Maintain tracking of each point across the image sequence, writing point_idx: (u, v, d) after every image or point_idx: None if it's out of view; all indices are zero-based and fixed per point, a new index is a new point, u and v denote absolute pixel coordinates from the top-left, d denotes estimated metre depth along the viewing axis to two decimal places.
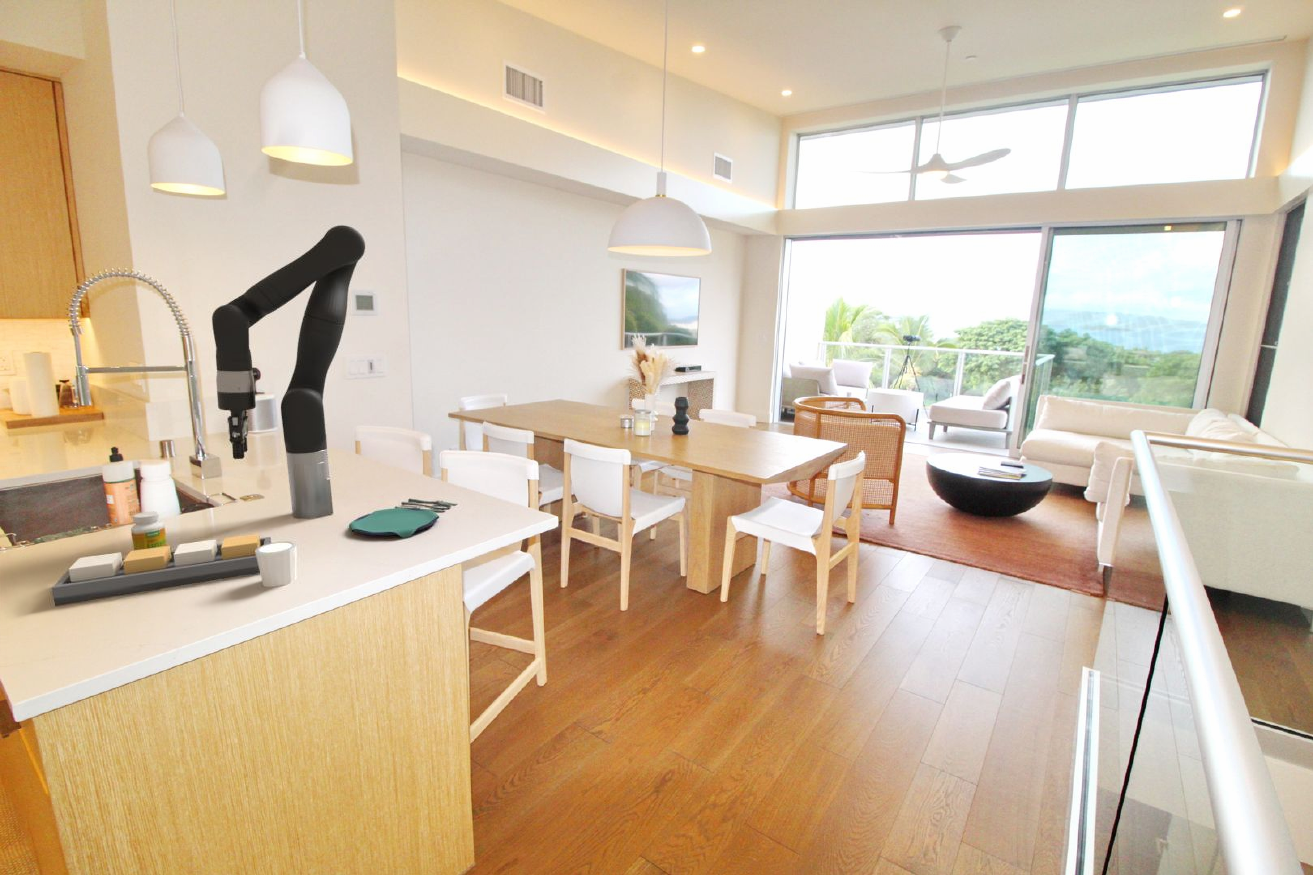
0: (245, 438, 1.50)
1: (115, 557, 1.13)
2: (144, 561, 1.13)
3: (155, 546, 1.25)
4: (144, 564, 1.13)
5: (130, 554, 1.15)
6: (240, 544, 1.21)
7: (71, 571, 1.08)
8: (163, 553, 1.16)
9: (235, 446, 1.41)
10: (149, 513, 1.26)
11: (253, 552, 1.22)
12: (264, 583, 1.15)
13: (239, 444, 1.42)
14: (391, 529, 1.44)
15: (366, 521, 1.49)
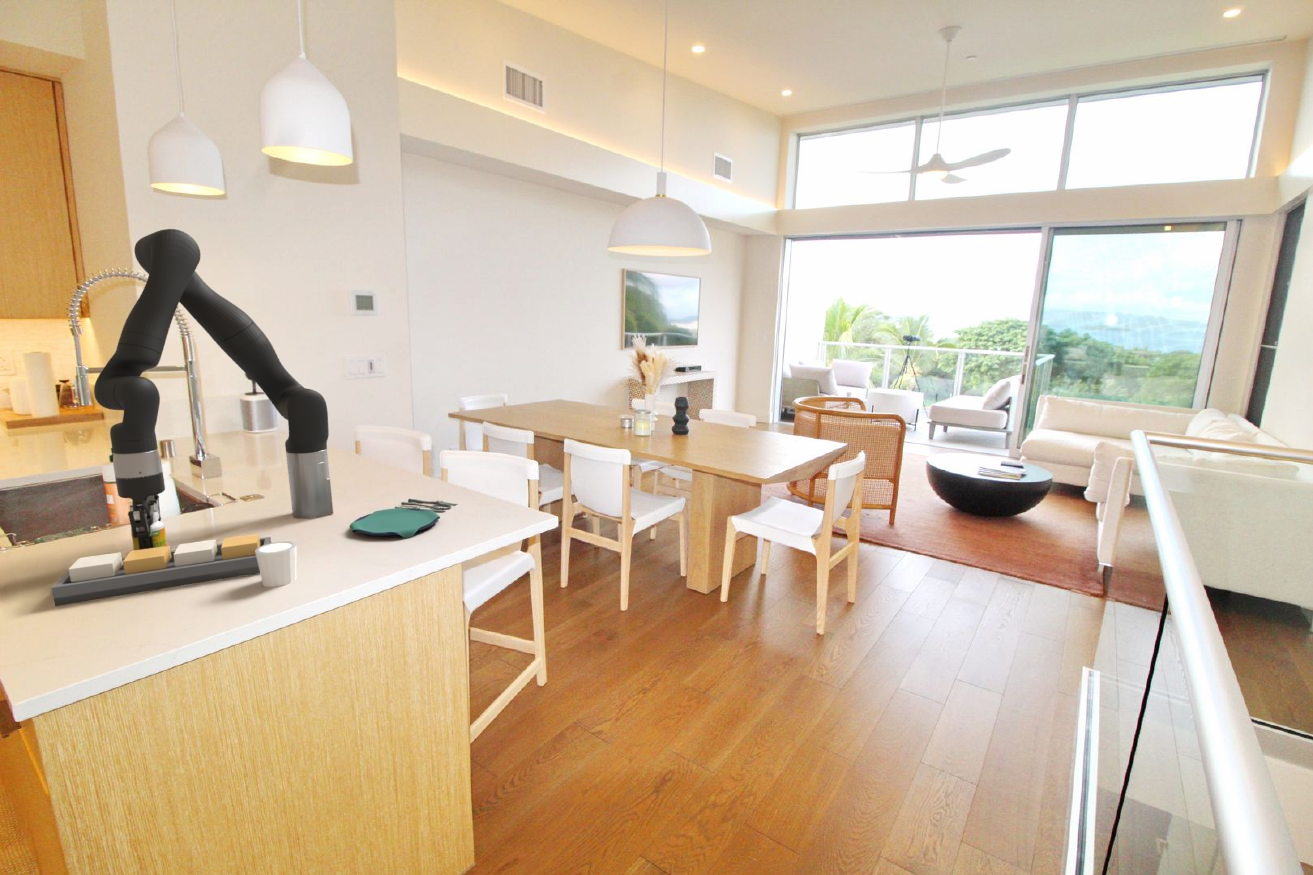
0: None
1: (115, 557, 1.13)
2: (144, 561, 1.13)
3: (155, 546, 1.25)
4: (144, 564, 1.13)
5: (130, 554, 1.15)
6: (240, 544, 1.21)
7: (71, 571, 1.08)
8: (163, 553, 1.16)
9: (141, 541, 1.23)
10: None
11: (253, 552, 1.22)
12: (264, 583, 1.15)
13: (146, 538, 1.23)
14: (392, 529, 1.44)
15: (367, 521, 1.49)
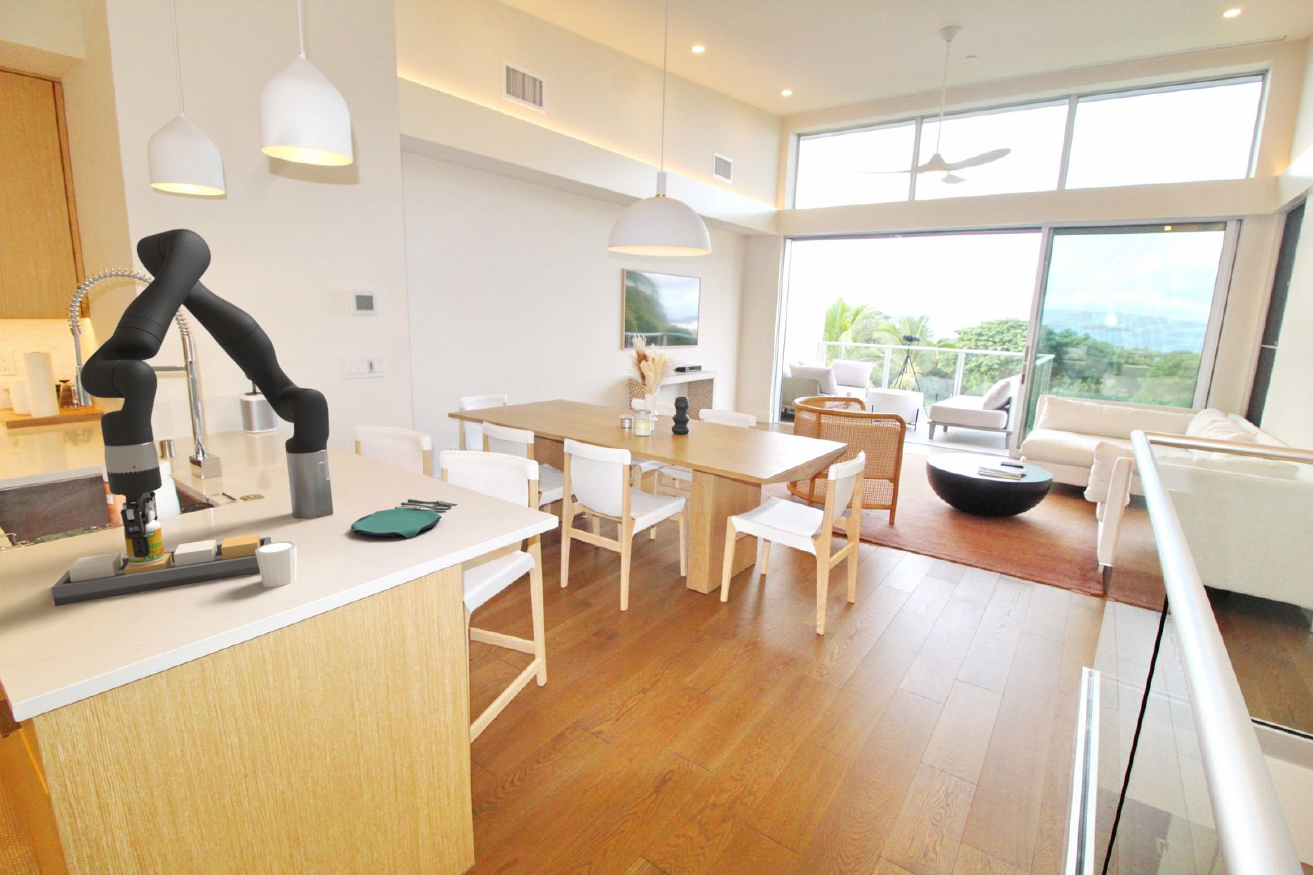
0: None
1: (115, 557, 1.13)
2: (146, 569, 1.14)
3: (150, 547, 1.14)
4: None
5: None
6: (240, 544, 1.21)
7: (71, 571, 1.08)
8: (164, 560, 1.16)
9: (135, 542, 1.11)
10: None
11: (253, 552, 1.22)
12: (264, 583, 1.15)
13: (141, 539, 1.12)
14: (394, 529, 1.44)
15: (368, 522, 1.48)
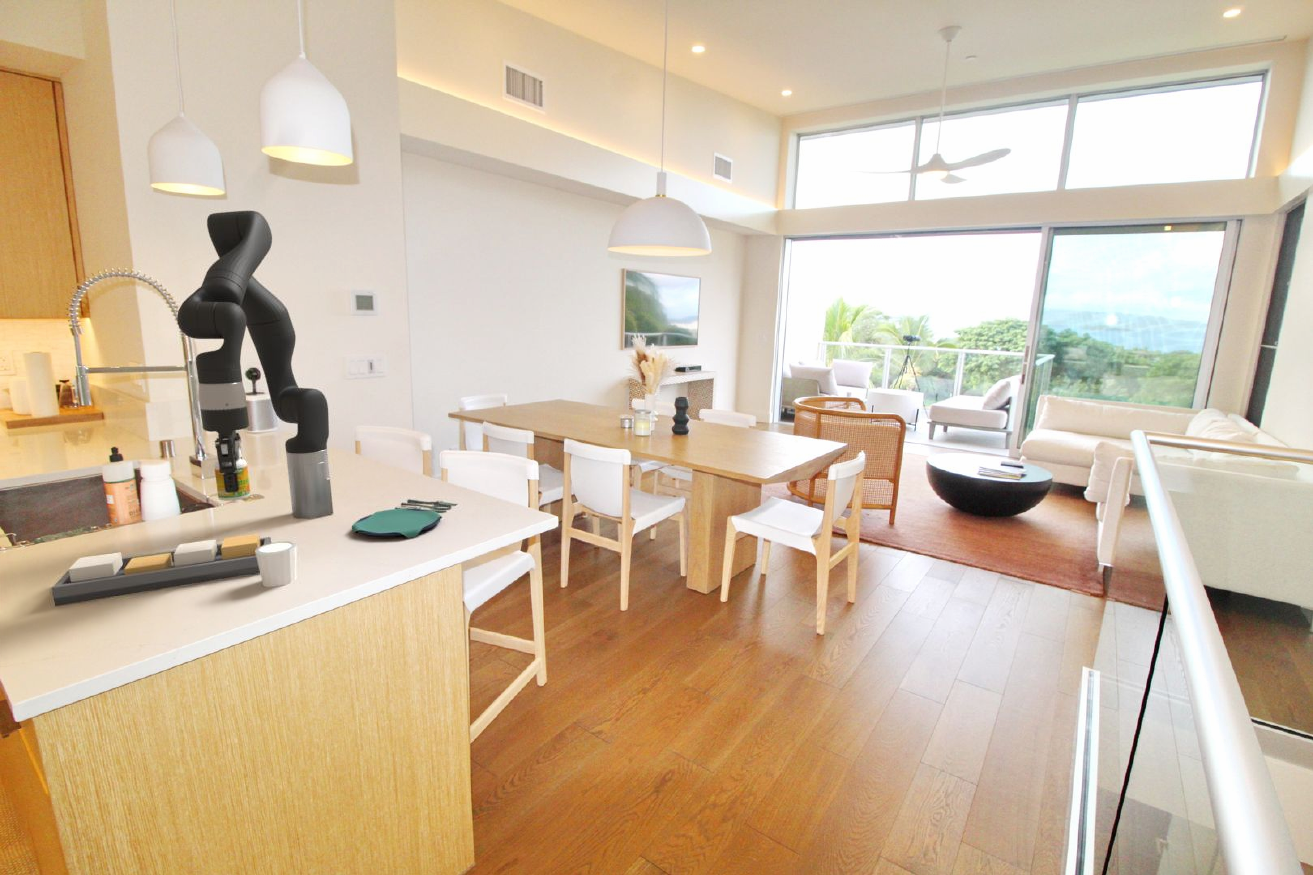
0: None
1: (115, 557, 1.13)
2: (146, 569, 1.14)
3: (239, 484, 1.19)
4: None
5: (131, 561, 1.15)
6: (240, 544, 1.21)
7: (71, 571, 1.08)
8: (164, 560, 1.16)
9: (227, 477, 1.17)
10: None
11: (253, 552, 1.22)
12: (264, 583, 1.15)
13: (232, 475, 1.17)
14: (395, 530, 1.44)
15: (368, 522, 1.48)
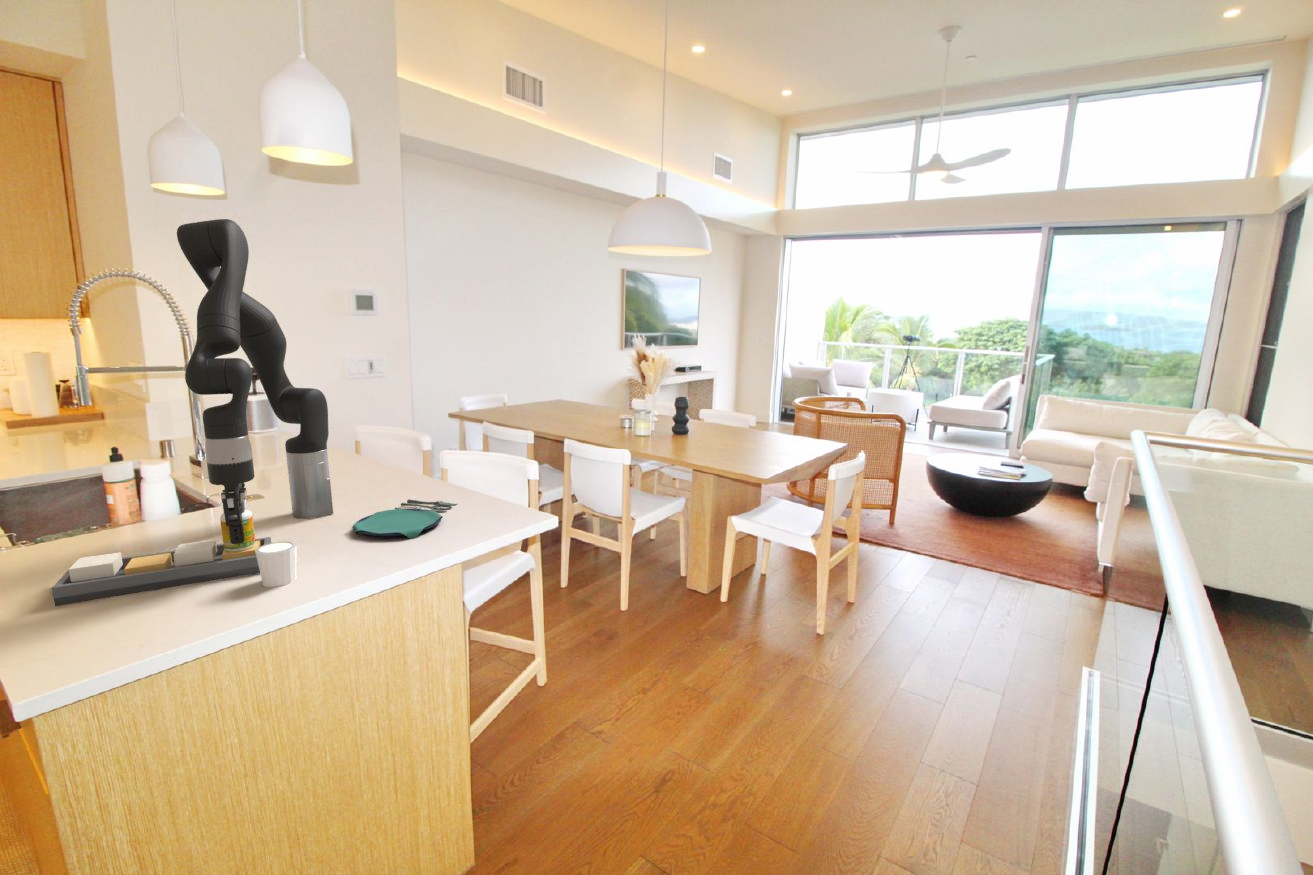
0: None
1: (115, 557, 1.13)
2: (146, 569, 1.14)
3: (244, 535, 1.21)
4: None
5: (131, 561, 1.15)
6: (241, 551, 1.21)
7: (71, 571, 1.08)
8: (164, 560, 1.16)
9: (233, 529, 1.19)
10: None
11: None
12: (264, 583, 1.15)
13: (237, 527, 1.19)
14: (396, 530, 1.43)
15: (369, 522, 1.48)
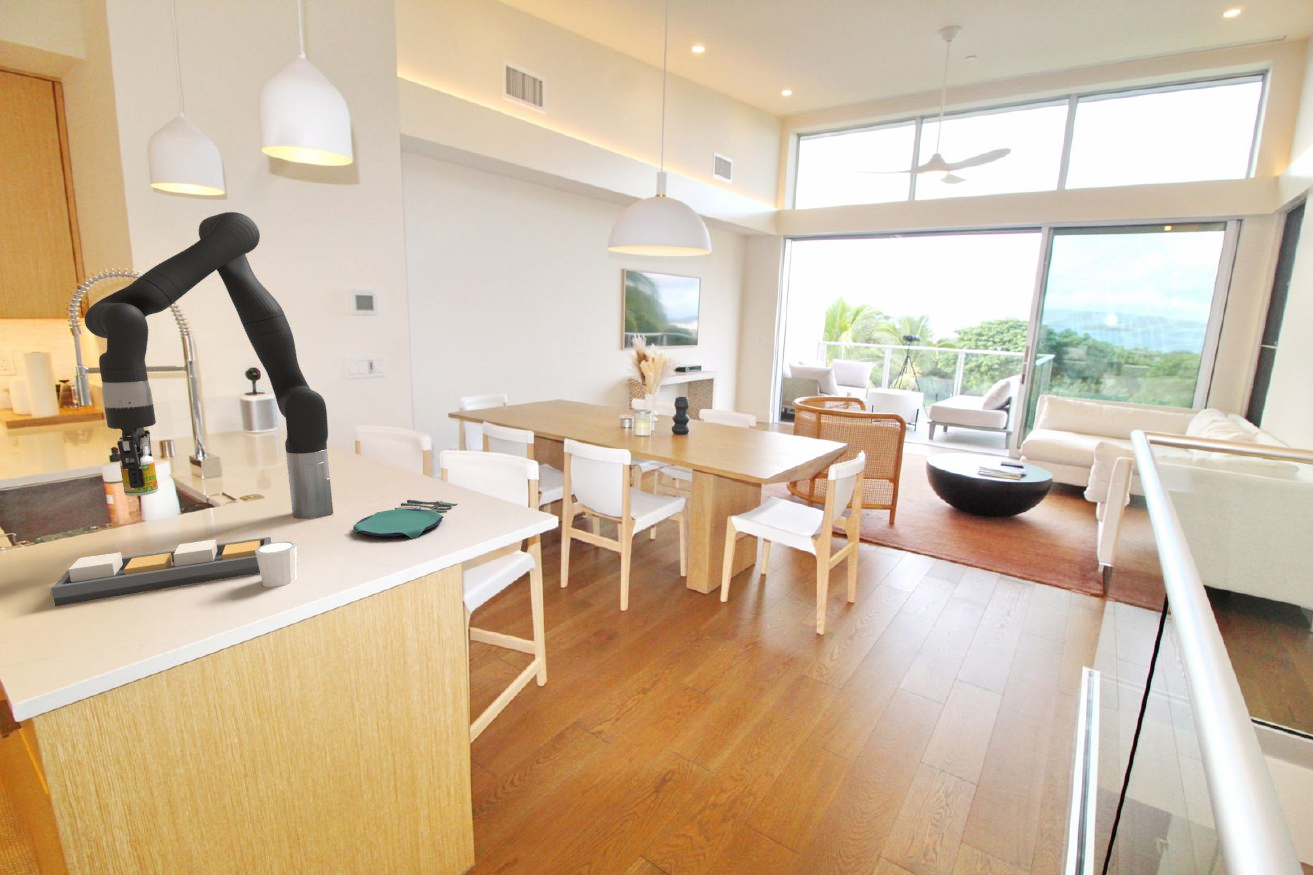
0: None
1: (115, 557, 1.13)
2: (146, 569, 1.14)
3: (144, 480, 1.23)
4: None
5: (131, 561, 1.15)
6: (241, 551, 1.21)
7: (71, 571, 1.08)
8: (164, 560, 1.16)
9: (131, 473, 1.20)
10: None
11: None
12: (264, 583, 1.15)
13: (136, 471, 1.20)
14: (397, 530, 1.43)
15: (369, 522, 1.48)
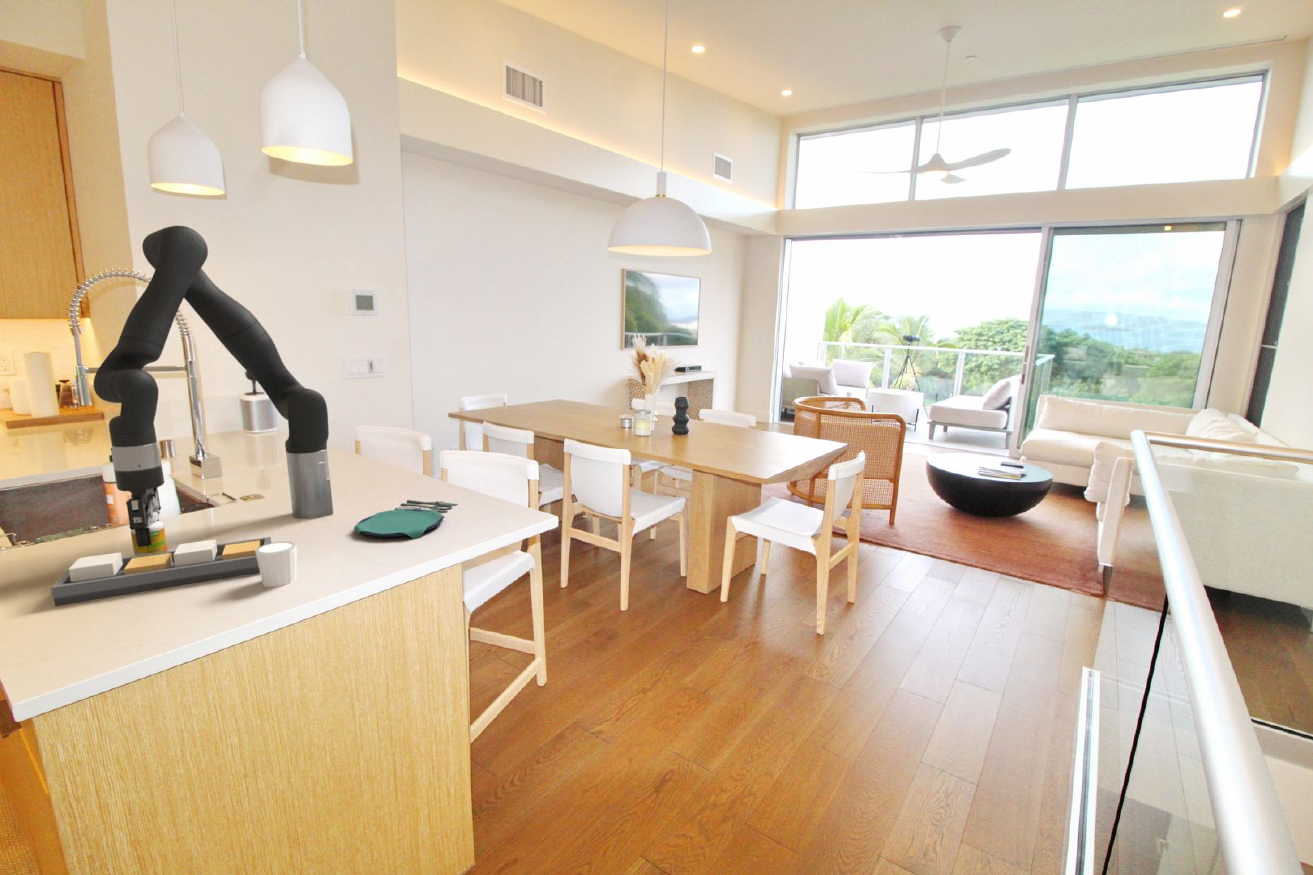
0: None
1: (115, 557, 1.13)
2: (146, 569, 1.14)
3: (155, 546, 1.25)
4: None
5: (131, 561, 1.15)
6: (241, 551, 1.21)
7: (71, 571, 1.08)
8: (164, 560, 1.16)
9: (138, 532, 1.21)
10: None
11: None
12: (264, 583, 1.15)
13: (143, 530, 1.22)
14: (399, 530, 1.43)
15: (370, 523, 1.48)
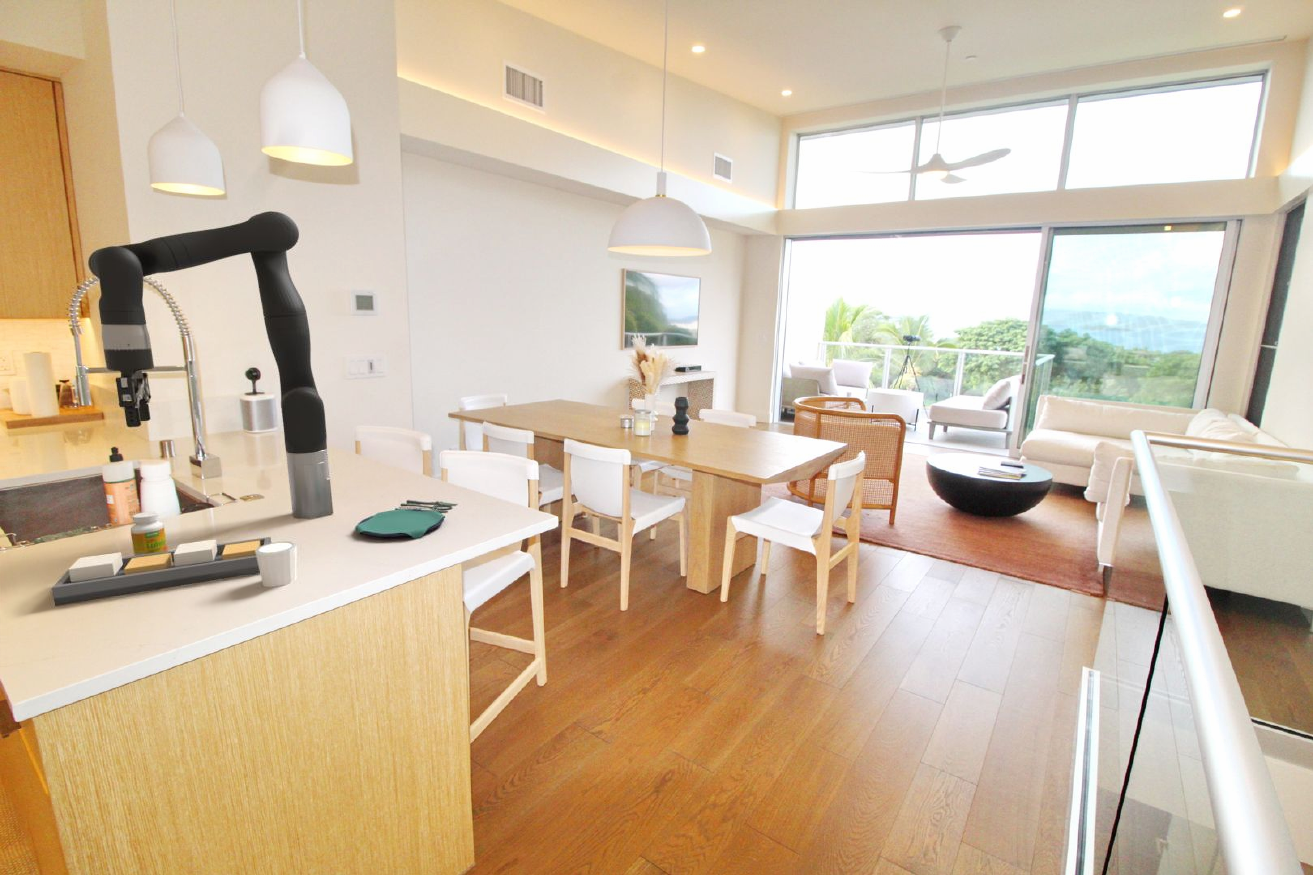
0: (146, 405, 1.30)
1: (115, 557, 1.13)
2: (146, 569, 1.14)
3: (155, 546, 1.25)
4: None
5: (131, 561, 1.15)
6: (241, 551, 1.21)
7: (71, 571, 1.08)
8: (164, 560, 1.16)
9: (128, 412, 1.22)
10: (148, 513, 1.26)
11: None
12: (264, 583, 1.15)
13: (132, 409, 1.22)
14: (400, 530, 1.43)
15: (371, 523, 1.47)
